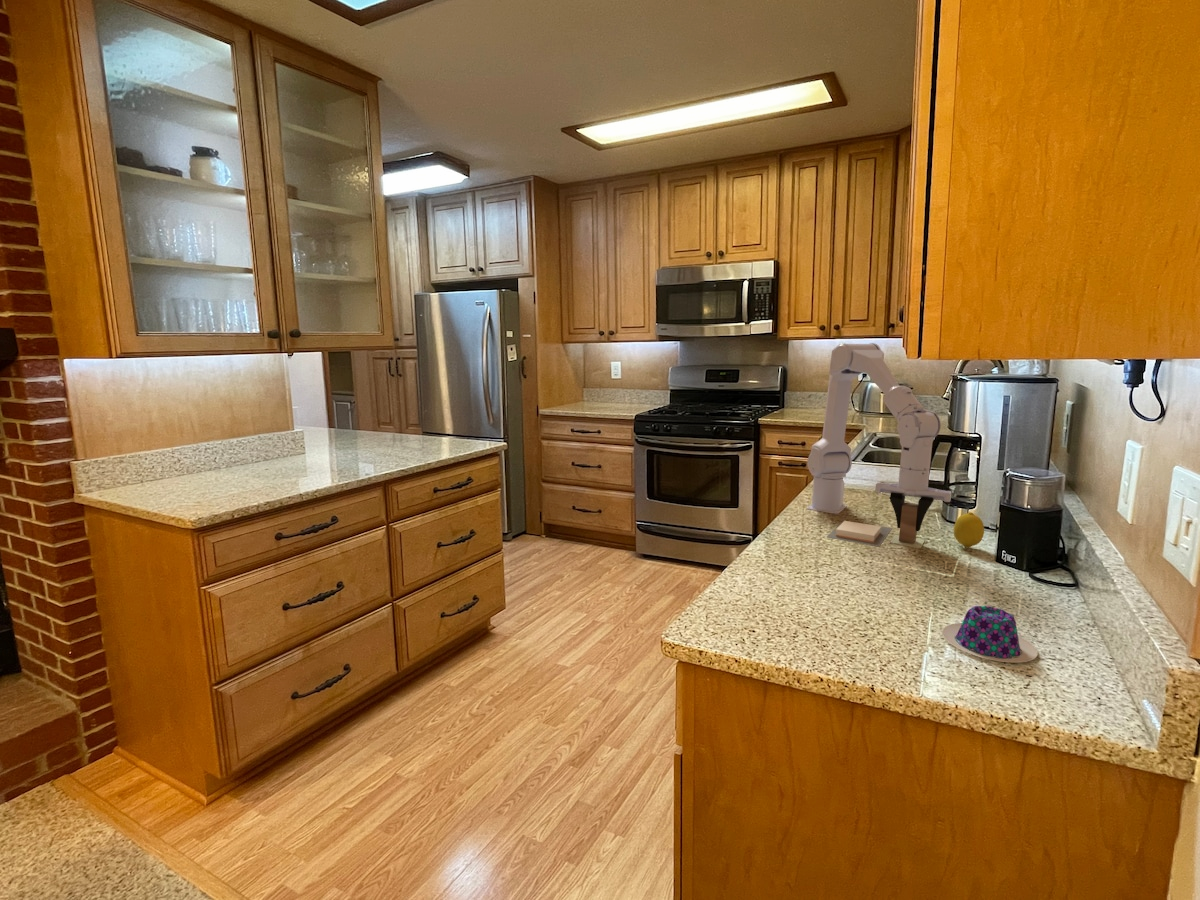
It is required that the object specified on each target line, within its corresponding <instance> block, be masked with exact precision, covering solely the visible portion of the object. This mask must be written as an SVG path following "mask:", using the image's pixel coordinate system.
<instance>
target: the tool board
mask: <svg viewBox="0 0 1200 900" xmlns="http://www.w3.org/2000/svg"><path fill="white" fill-rule="evenodd" d="M925 541H926V539H922V538H917V537H916V541H915V542H914V543H908V542H902V541H899V534H898V535H897V534H894V536H893V537H892V538H891V540H890V544H893V545H898V546H899V545H900V546H905V547H909V548H910V547H911V548H915V549H916V548H917V549H922V547H923V545H924V543H925Z"/></svg>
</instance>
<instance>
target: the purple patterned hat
mask: <svg viewBox="0 0 1200 900" xmlns="http://www.w3.org/2000/svg"><path fill="white" fill-rule="evenodd" d="M941 635H942V637H943V638H944V639H945V641H946V642H948V643H949V644H951V645H952V646H954V647H956V649H959V650H960V651H962V652H965V653H968V654H970V655H973V656H976V657H979V658H982V659H986V660H990V661H995V662H1003V663H1027V662H1030V661H1033V660H1035V659H1037V657H1038V654H1039V652H1038V648H1037V647H1036V646H1035V645H1034V644H1033V643H1031V642H1030V641H1029V640H1027V639H1025V637H1022V636H1021V635H1019V632H1018V628H1017V622H1016V619H1015V617H1014V616H1013V614H1011V613H1010V612H1007V611H1006V610H1004V609H1001V608H999V607H998V608H997V607H996V608H995V607H994V606H989V605H983V606H982V605H974V606H972V607H970V608H969V609H968V610H967V612H966V614H965V615H964V618H963V620H962V621H961V622H957V623H951V624H948V625H946V626H944V627H943V628H942V630H941ZM958 642H960V643H958ZM969 650H970V651H969ZM1011 657H1014V658H1011Z"/></svg>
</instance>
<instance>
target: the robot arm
mask: <svg viewBox="0 0 1200 900" xmlns="http://www.w3.org/2000/svg"><path fill="white" fill-rule="evenodd" d="M830 355H831V356H830V364H829V377H828V386H827V395H826V401H825V410H824V411H825V412H824V421H823V428H822V434H821V435H822V436H821V437H822V438H820V439H819V440H818V441H816V442H815V443H814V444H812V446H811V449H810V453H809V455H808V457H807V463H806V464H807V469H808V471H809V473H810V475H811V476H813V480H812V481H813V483H812V497H811V504H809V506H807V508H806V509H807V510H809V511H816V512H822V513H830V514H836V515H839V514H840V513H841V512H842V511H843V510H844V509H846V508H847V504H844V493H845V481H844V478H846V477H847V474H848V473H849V472H850V471H851V468H852V463H853V461H852V455H851V453H852V452H851V451H852V448H851V446H850V445H849V444H848V443H846V442H845V439H846V430H847V421H848V414H849V407H850V399H851V393H852V392H851V391H852V381H853V380H855V379H856V378H857V377H859V376H860V375H861V374H863V373H864V374H866V375H867V376H868V377H869V379H871V381H872V382H873V383H874V384H875V385H876V386H877V387H878V389H880V391H881V392H882V393H883V395H884V397H883V403H884V404H885V406H886V407H887V408H888V410H889V412H890V413H891V414H892V416H893V418H895V420H896V422H897V424H896V430H897V433H898V436H899V444H900V446H901V451H900V453H901V454H900V461H899V462H900V464H899V474H898V483H890V482H876V483H875V491H874V493H876V494H877V493H878V494H880V493H883V494H890V496H889V501H890V505H891V506H892V508H893V512H894V514H895V518H896V528H897V529H900V522H901V511H902V505H903V503H904V502H905V499H906V497H913V498H919V500H918V503H917V504H918V517H917V523H916V531H917V532H920V530H921V528H922V523H923V520H924V519H925V516H926V514H927V512H928V510H929V508H930V507H931V505H932V504H933V503H934V501H935V500H936V501H944V503H950V502H951V498H952V491H951V490H944V489H943V490H942V489H937V488H933V487H929V479H930V469H931V460H932V450H933V449H932V448H933V443H934V441H933V440H934V438H936V437H937V436H938V435H939V434H940V431H941V429H942V427H941V425H942V424H941V419H940V417H939V416H938V414H937V412H935V411H932V410H928V409H927V408H925V407H924V405H922V404H921V403H920V401H919V400H918V399H917V398H916V396H915V395H914V394H913V390H912V389H911V388H910V387H908V386H906V385H900V384H899V383H898V382H897V380H896V378H895V377H894V375H893V373H892V372H891V371H890V369H889V367H888V365H887V363H886V362H885V360H884V359H885V353H884V351H883V350H882V349H881V348H880V346H879V345H878V344H876V343H873V342H871V343H846V342H842V343H839V344H838V345H837V346H836V347H834V348H833V349H832V350H831V354H830Z"/></svg>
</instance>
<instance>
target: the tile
mask: <svg viewBox="0 0 1200 900" xmlns="http://www.w3.org/2000/svg"><path fill="white" fill-rule="evenodd" d="M850 521H851V520H846V521H844V522H843V523H842V524H841V525H840V526H839V527H838V528H837V529H836V536H838V537H844V538H850V539H856V540H861V541H867V542H873V543H874V541H875V540H876V539H877V537H878V536H879V535H880V534H881V526H882V525H877V526H875V525H876V524H871V525H868V524H869V523H864V524H862V523H863V522H858V523H856V521H852V522H850Z"/></svg>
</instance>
